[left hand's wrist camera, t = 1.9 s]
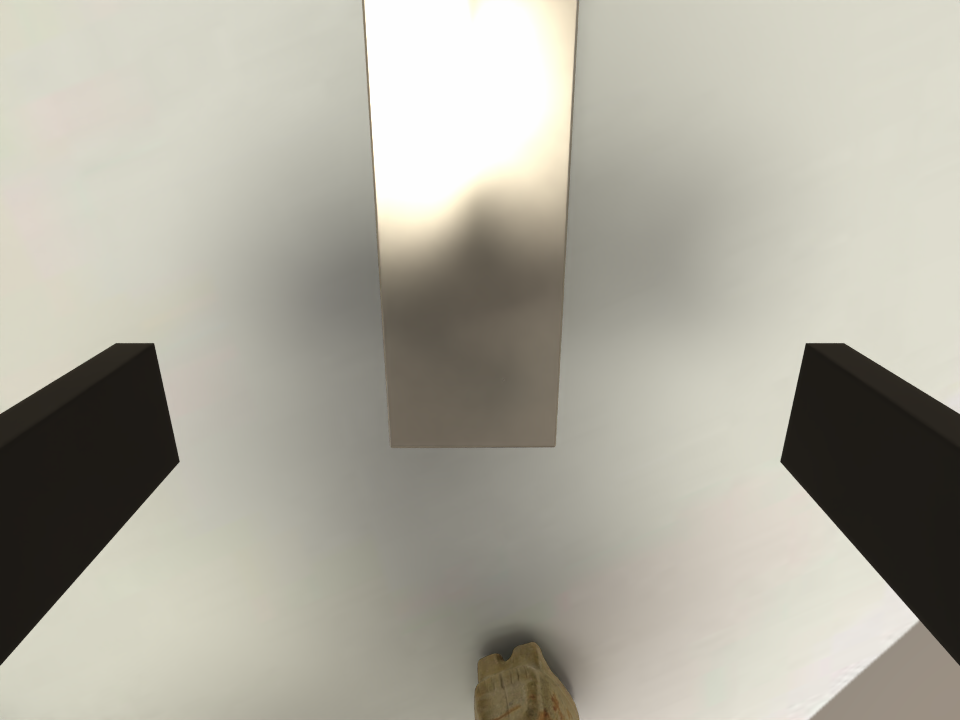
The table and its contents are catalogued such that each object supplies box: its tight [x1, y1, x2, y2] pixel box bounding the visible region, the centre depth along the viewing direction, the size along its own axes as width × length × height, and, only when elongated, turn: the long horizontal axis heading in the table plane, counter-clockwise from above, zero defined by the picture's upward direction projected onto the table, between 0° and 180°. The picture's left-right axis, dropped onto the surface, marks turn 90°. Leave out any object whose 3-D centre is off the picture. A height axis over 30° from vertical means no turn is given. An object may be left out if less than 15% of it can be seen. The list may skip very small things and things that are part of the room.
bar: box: [362, 0, 579, 448], centre depth 19 cm, size 24×6×8 cm, turn 0°
